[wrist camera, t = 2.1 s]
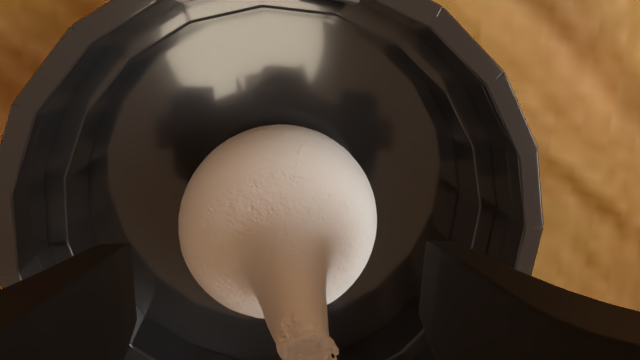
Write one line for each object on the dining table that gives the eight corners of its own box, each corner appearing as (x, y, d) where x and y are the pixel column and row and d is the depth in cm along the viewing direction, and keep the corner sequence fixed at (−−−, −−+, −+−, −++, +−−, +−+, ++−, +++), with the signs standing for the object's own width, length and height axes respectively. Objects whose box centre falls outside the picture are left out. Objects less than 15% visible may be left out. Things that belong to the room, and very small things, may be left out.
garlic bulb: (233, 85, 16) (195, 131, 8) (397, 163, 17) (501, 267, 9) (162, 247, 17) (70, 420, 9) (319, 307, 18) (352, 503, 11)
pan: (564, 179, 18) (643, 217, 14) (299, 439, 20) (305, 532, 16) (251, -141, 14) (243, -207, 10) (-33, 227, 16) (-127, 286, 13)
